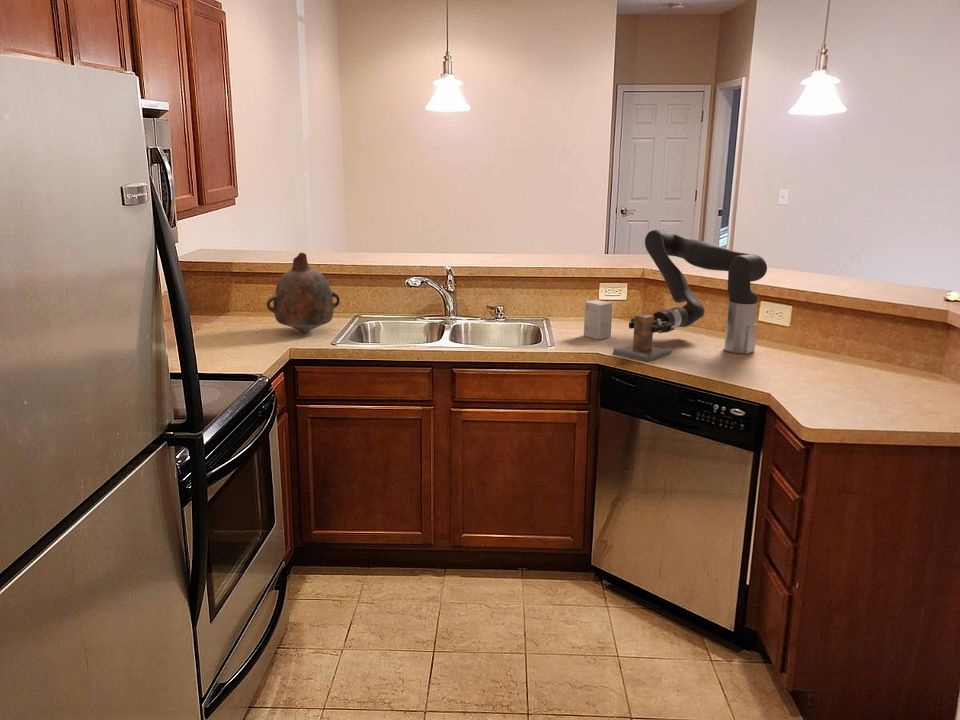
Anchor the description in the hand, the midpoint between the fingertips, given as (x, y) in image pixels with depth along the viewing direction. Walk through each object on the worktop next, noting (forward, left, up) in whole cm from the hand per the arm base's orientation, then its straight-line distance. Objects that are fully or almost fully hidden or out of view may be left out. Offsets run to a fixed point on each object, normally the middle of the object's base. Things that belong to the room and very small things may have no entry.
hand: (640, 327), depth 264 cm
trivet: (0, -2, -9) cm, 10 cm away
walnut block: (0, -2, -8) cm, 8 cm away
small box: (+25, -11, -10) cm, 29 cm away
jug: (+104, +63, -10) cm, 122 cm away
